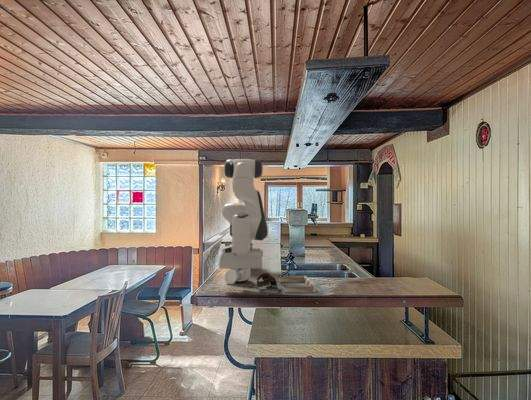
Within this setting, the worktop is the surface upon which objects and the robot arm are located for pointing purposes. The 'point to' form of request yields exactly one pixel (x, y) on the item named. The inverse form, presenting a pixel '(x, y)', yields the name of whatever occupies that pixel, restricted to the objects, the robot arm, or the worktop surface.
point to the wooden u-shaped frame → (309, 288)
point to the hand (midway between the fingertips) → (240, 278)
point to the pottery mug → (266, 280)
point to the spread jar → (232, 276)
